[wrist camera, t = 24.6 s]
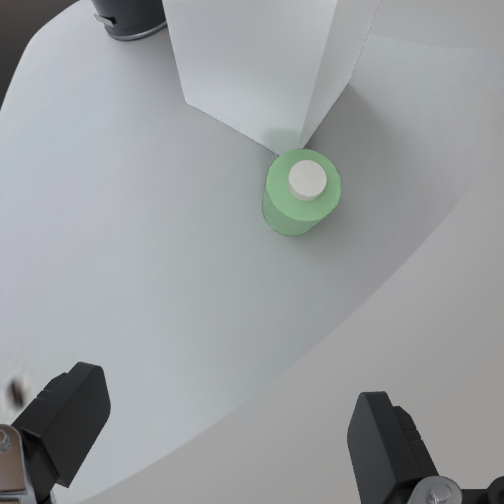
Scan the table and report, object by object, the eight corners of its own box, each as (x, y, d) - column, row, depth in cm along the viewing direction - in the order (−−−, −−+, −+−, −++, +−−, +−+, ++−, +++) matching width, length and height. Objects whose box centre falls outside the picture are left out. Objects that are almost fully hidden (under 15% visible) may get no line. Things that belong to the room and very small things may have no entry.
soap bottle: (271, 172, 28) (280, 131, 20) (325, 190, 28) (354, 155, 20) (254, 225, 28) (257, 202, 19) (310, 243, 28) (336, 228, 19)
